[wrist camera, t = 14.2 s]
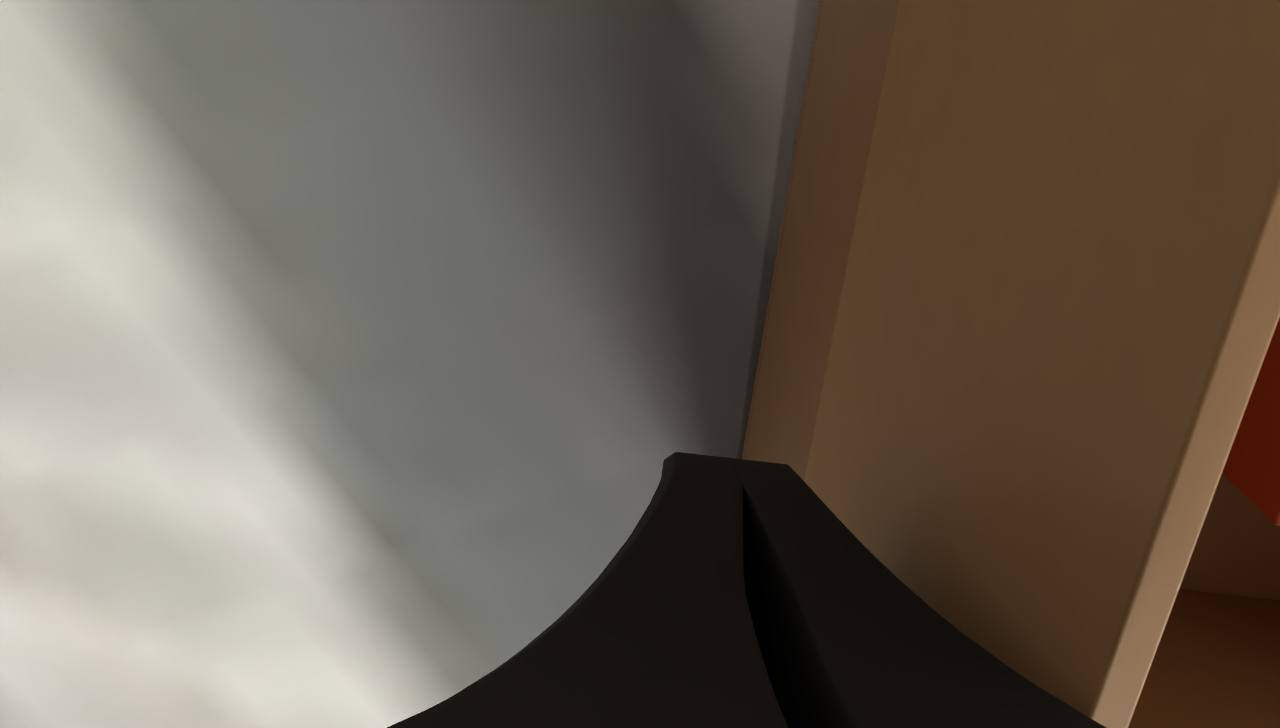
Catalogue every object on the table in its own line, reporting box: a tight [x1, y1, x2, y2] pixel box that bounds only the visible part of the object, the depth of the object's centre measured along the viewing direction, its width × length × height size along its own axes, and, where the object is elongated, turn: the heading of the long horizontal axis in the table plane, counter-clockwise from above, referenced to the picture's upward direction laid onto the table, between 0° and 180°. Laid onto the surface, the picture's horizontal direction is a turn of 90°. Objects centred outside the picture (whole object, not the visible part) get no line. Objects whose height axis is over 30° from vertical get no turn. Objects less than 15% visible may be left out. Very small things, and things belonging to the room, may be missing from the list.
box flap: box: [804, 0, 1280, 728], centre depth 11 cm, size 13×7×1 cm
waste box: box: [742, 0, 1280, 728], centre depth 18 cm, size 13×15×6 cm
